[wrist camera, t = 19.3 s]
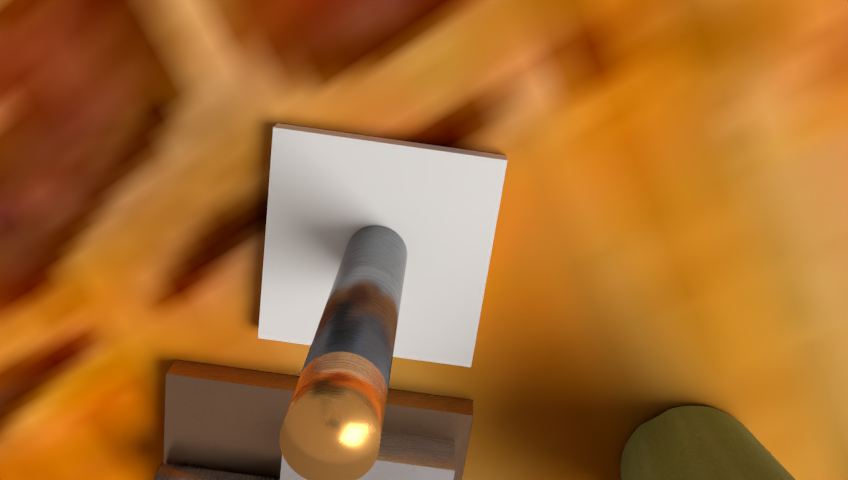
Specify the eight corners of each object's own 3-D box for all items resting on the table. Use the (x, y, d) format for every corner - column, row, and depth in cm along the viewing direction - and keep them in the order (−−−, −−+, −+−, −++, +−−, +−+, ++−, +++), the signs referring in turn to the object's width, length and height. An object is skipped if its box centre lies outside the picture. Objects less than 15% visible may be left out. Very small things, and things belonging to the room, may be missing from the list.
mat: (277, 122, 38) (272, 127, 37) (506, 155, 38) (507, 160, 37) (262, 329, 42) (257, 338, 41) (470, 358, 42) (470, 367, 41)
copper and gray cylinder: (339, 273, 39) (270, 471, 24) (354, 217, 38) (291, 388, 23) (397, 289, 39) (365, 495, 24) (414, 234, 38) (391, 414, 23)
